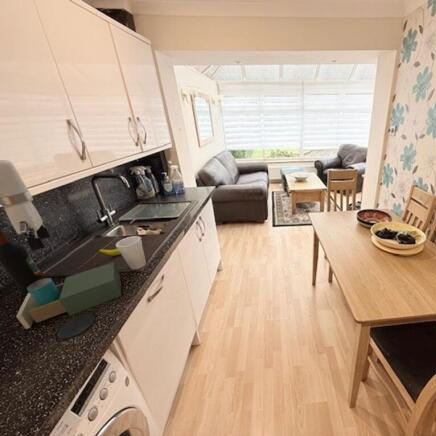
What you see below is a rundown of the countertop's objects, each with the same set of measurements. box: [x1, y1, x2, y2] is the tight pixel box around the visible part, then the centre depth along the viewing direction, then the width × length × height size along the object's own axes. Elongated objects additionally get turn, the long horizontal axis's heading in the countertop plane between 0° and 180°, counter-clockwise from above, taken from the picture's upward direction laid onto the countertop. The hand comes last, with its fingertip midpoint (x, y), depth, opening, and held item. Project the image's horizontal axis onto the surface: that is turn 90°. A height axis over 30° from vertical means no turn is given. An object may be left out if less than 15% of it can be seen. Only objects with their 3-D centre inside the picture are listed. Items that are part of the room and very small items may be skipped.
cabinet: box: [59, 261, 122, 317], centre depth 93 cm, size 16×15×8 cm
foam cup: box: [115, 235, 147, 270], centre depth 108 cm, size 10×9×13 cm
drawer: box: [16, 282, 67, 330], centre depth 87 cm, size 16×14×6 cm
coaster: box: [56, 312, 96, 340], centre depth 80 cm, size 10×10×1 cm
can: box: [27, 277, 61, 307], centre depth 85 cm, size 6×6×10 cm
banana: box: [97, 236, 143, 256], centre depth 121 cm, size 3×19×6 cm, turn 131°
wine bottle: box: [0, 226, 45, 297], centre depth 93 cm, size 8×8×30 cm
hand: (42, 243), depth 86 cm, fingers open, 9 cm apart
